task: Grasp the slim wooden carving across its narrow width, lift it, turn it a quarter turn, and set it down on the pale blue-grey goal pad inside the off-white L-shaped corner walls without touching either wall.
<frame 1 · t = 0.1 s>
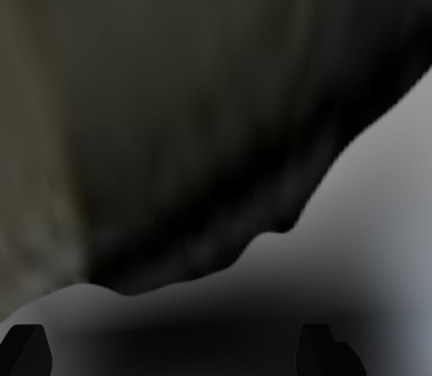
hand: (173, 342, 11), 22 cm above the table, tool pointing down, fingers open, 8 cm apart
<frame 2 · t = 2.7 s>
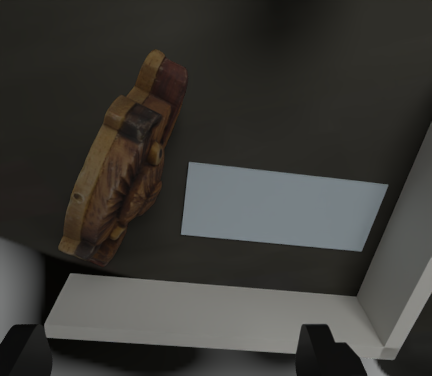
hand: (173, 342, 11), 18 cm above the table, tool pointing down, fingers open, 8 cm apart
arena: (246, 184, 29), on the table
goal pad: (281, 209, 30), on the table
wooden carving: (139, 149, 27), on the table
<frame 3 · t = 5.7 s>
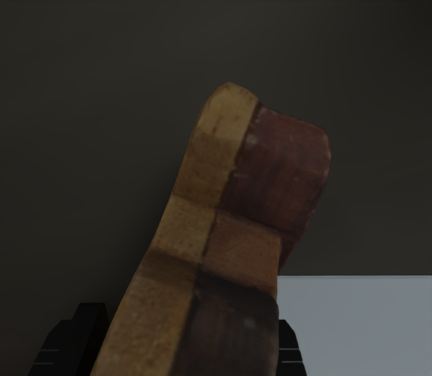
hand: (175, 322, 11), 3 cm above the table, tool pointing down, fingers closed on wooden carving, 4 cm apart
wooden carving: (181, 262, 14), on the table, touching gripper
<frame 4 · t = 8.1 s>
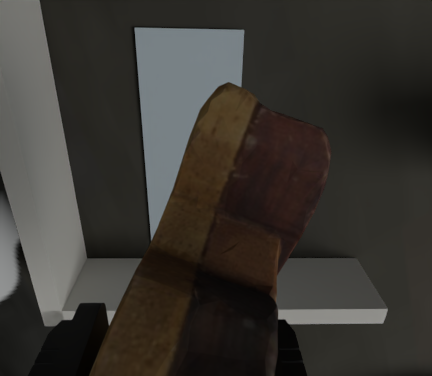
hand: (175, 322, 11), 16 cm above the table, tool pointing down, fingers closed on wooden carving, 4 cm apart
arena: (218, 106, 24), on the table
goal pad: (191, 152, 26), on the table
wooden carving: (181, 262, 14), point 13 cm above the table, touching gripper
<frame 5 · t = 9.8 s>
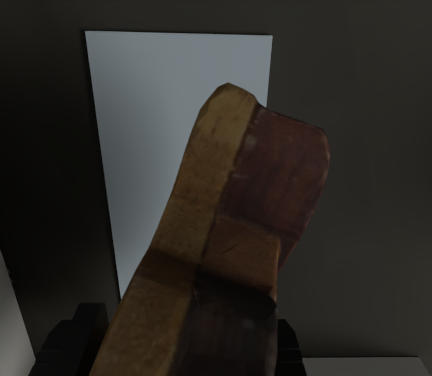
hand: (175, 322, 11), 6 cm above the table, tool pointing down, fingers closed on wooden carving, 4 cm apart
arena: (227, 156, 15), on the table
goal pad: (183, 222, 17), on the table
wooden carving: (181, 263, 14), point 3 cm above the table, touching gripper
when the fingers open (4 cm above the table, at t = 11.0 s): wooden carving drops 1 cm, resting on goal pad.
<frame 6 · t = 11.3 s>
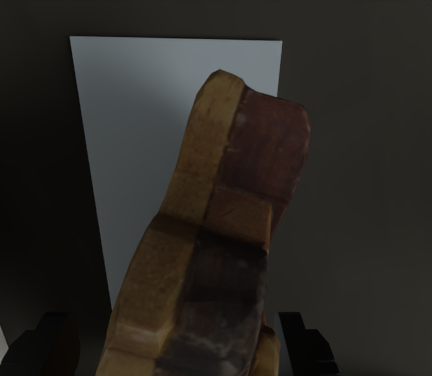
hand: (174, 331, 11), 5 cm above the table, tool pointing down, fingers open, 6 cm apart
goal pad: (182, 245, 15), on the table
wooden carving: (187, 245, 15), resting on goal pad
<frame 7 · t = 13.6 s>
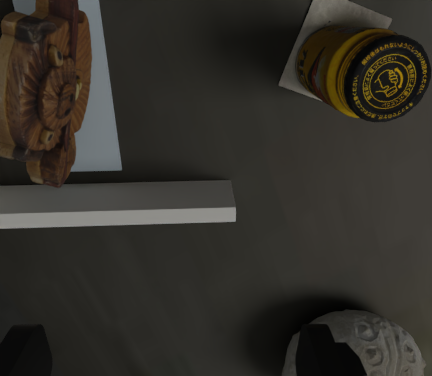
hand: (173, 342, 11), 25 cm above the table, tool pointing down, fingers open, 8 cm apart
decorative shell: (336, 340, 48), on the table
condiment: (331, 52, 32), on the table
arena: (87, 44, 30), on the table
goal pad: (72, 85, 32), on the table
wooden carving: (74, 85, 32), resting on goal pad
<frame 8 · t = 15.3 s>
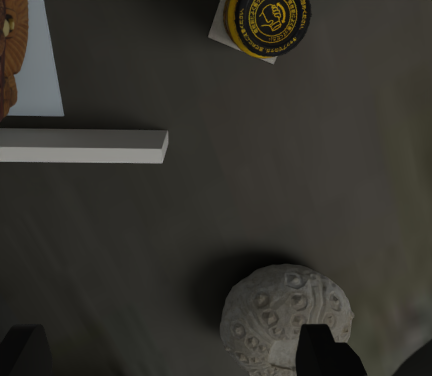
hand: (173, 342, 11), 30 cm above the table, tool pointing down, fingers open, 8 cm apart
decorative shell: (277, 297, 51), on the table
condiment: (257, 7, 34), on the table
goal pad: (12, 29, 34), on the table
wooden carving: (15, 29, 34), resting on goal pad
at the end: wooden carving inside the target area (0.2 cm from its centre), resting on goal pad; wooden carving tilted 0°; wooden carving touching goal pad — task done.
